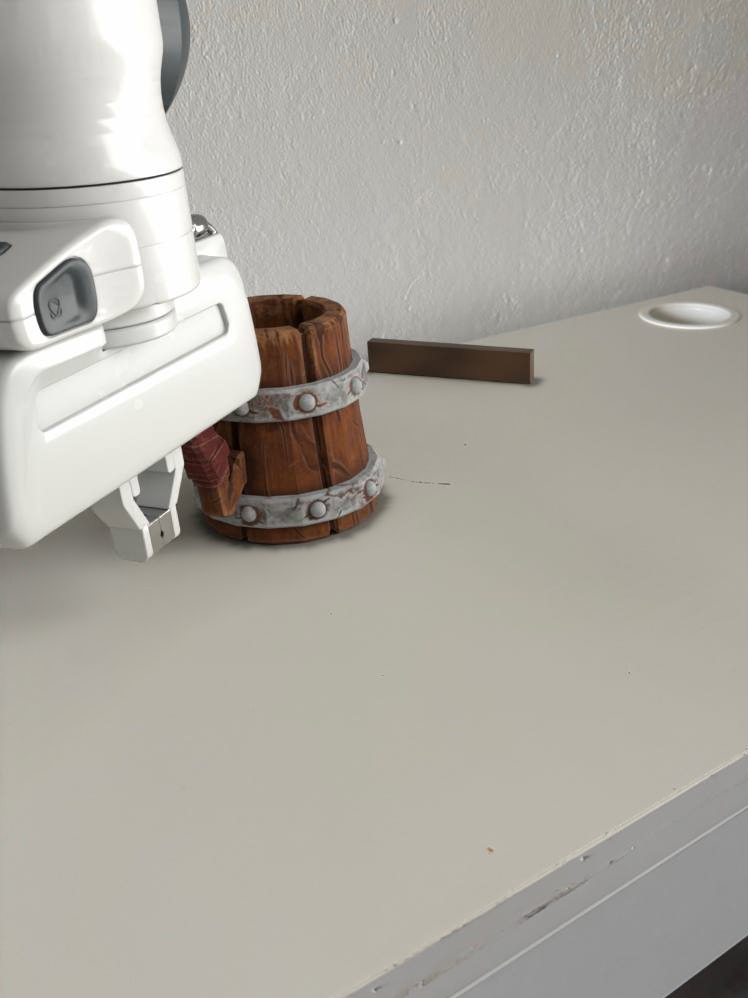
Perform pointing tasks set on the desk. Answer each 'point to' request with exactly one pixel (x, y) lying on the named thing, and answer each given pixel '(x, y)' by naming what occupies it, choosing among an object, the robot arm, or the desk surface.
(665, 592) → the desk surface
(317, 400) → the mug
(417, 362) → the rail
